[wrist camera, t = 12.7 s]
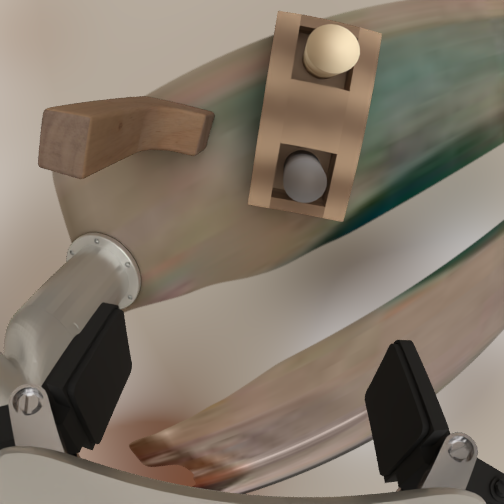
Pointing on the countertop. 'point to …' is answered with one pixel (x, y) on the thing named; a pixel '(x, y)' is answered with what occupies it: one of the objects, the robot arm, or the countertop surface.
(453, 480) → the robot arm
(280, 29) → the walnut socket block
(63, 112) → the wooden block
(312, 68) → the birch dowel
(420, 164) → the countertop surface
